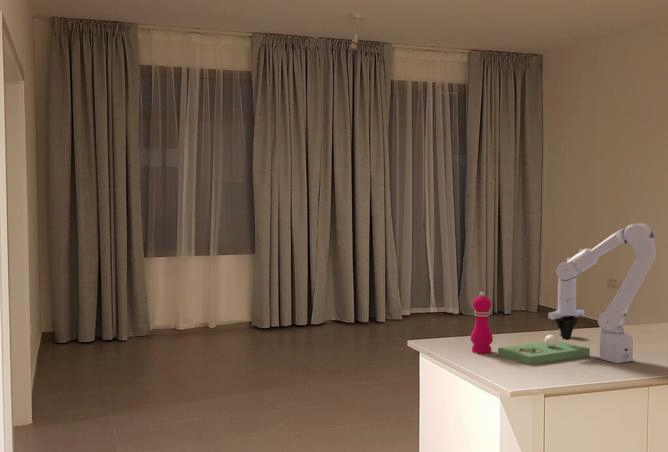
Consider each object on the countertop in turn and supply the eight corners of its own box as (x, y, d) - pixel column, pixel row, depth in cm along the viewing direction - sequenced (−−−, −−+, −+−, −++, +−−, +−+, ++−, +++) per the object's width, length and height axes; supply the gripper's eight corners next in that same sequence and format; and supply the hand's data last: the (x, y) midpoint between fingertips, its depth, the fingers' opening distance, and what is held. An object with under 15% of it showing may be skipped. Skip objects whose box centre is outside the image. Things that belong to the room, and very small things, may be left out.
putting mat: (589, 355, 215) (589, 348, 215) (529, 364, 203) (529, 356, 203) (556, 347, 228) (556, 340, 228) (498, 355, 216) (498, 347, 216)
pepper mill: (493, 354, 217) (493, 293, 217) (470, 353, 219) (470, 293, 218) (492, 349, 224) (492, 290, 224) (470, 348, 226) (470, 290, 225)
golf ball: (559, 347, 216) (560, 335, 216) (550, 348, 214) (551, 336, 214) (550, 345, 220) (550, 333, 219) (541, 346, 218) (541, 334, 218)
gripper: (573, 295, 226) (572, 335, 227) (541, 298, 220) (540, 338, 220) (589, 298, 220) (589, 338, 221) (557, 301, 214) (557, 343, 214)
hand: (566, 339), depth 220 cm, fingers closed
